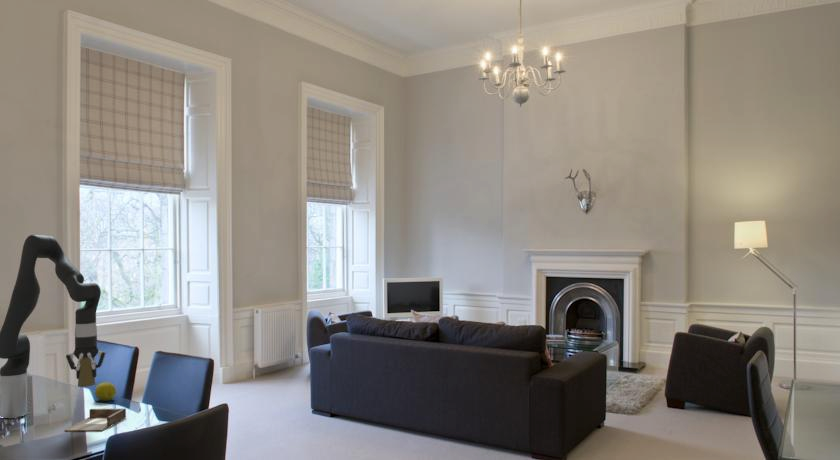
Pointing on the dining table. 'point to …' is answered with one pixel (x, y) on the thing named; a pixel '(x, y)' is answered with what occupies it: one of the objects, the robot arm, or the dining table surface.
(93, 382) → the olive double-lobed piece
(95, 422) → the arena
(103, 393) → the lemon
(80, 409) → the dining table surface
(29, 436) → the dining table surface
